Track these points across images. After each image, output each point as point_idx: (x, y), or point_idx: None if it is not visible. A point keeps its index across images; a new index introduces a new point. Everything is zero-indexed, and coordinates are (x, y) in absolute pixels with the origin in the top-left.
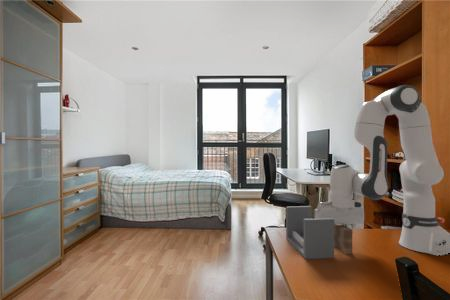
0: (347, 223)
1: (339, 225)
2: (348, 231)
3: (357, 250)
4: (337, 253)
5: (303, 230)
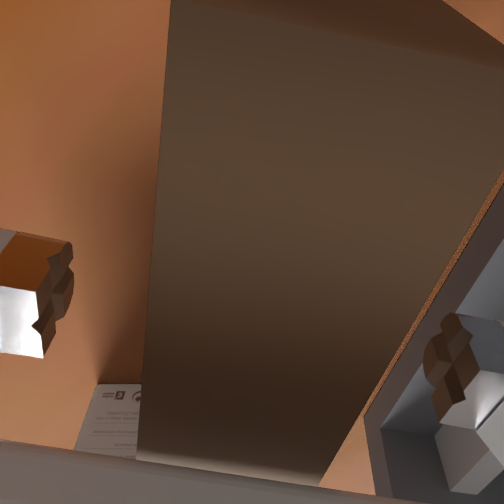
0: (59, 459)
1: (278, 453)
2: (385, 22)
3: (70, 10)
4: (462, 9)
5: (484, 500)
